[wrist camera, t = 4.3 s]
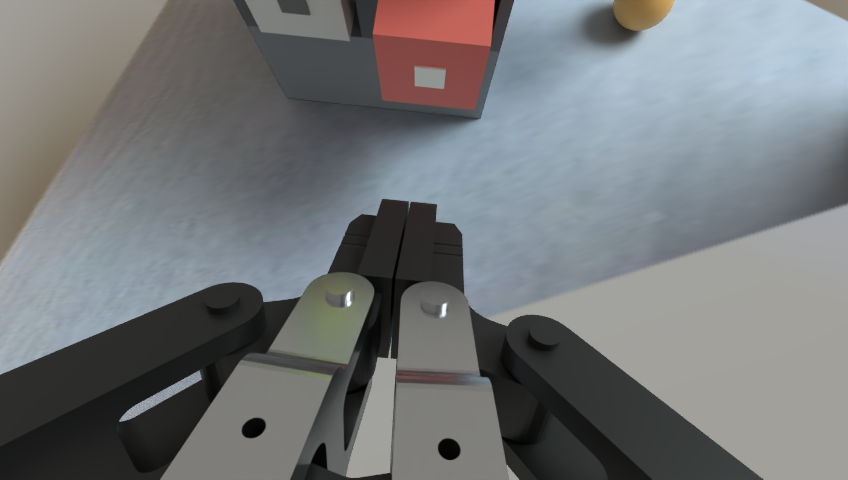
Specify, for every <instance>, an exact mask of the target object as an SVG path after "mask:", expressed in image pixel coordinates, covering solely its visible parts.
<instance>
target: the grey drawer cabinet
mask: <svg viewBox="0 0 848 480" xmlns="http://www.w3.org/2000/svg"><path fill="white" fill-rule="evenodd" d="M234 2H235V4H236V6H237V8H238V9H239V11H240V13H241V15H242V17H243V19H244V20H245V22H246V24H247V26H248V28H249V30H250V31H251V33H252V35H253V37H254V39H255V41H256V42H257V44H258V46H259V48H260V50H261V52H262V53H263V55H264V57H265V59H266V61H267V63H268V64H269V66H270V68H271V70H272V72H273V74H274V75H275V77H276V79H277V81H278V83H279V85H280V86H281V88H282V90H283V92H284V94H285V96H286V97H287V98H292V99H301V100H311V101H320V102H330V103H339V104H349V105H358V106H367V107H377V108H386V109H396V110H405V111H415V112H424V113H433V114H443V115H452V116H462V117H471V118H481V115H482V111H483V108H484V104H485V101H486V97H487V94H488V90H489V87H490V83H491V80H492V76H493V73H494V69H495V66H496V62H497V59H498V55H499V52H500V48H501V45H502V41H503V38H504V34H505V31H506V27H507V24H508V20H509V17H510V13H511V10H512V6H513V3H514V0H495V2H494V14H493V26H492V39H491V48H490V52H489V56H488V60H487V64H486V68H485V72H484V76H483V80H482V84H481V88H480V92H479V96H478V100H477V104H476V108H475V110H469V109H460V108H451V107H441V106H432V105H422V104H413V103H403V102H394V101H384V100H382V94H381V87H380V80H379V73H378V67H377V60H376V53H375V46H374V40H373V29H374V23H375V16H376V10H377V4H378V0H355V2H356V9H355V14H354V20H353V26H352V32H351V37H350V41H343V40H333V39H324V38H314V37H305V36H295V35H285V34H276V33H266V32H261V31H260V29H259V27H258V25H257V23H256V21H255V19H254V17H253V15H252V13H251V11H250V9H249V7H248V5H247V3H246V1H245V0H234Z"/></svg>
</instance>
